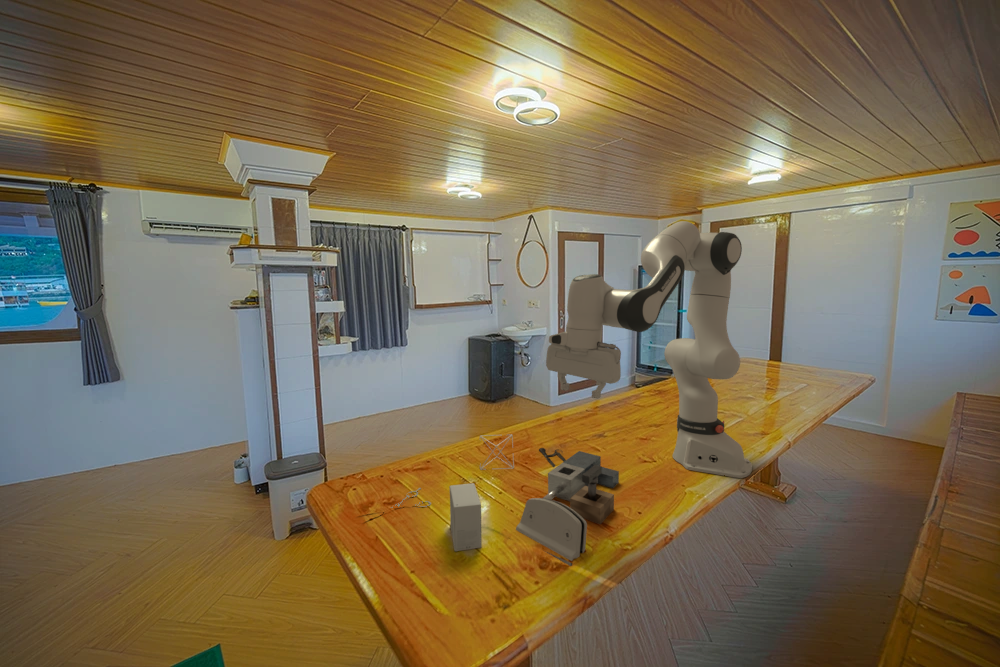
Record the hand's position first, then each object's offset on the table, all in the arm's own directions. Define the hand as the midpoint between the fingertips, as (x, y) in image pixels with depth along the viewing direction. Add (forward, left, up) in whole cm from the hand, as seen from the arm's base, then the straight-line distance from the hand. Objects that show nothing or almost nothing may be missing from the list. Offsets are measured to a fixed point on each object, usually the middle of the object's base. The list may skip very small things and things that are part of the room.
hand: (579, 393), depth 104 cm
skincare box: (+16, +27, -31) cm, 44 cm away
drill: (+3, -4, -30) cm, 31 cm away
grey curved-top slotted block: (-2, +17, -31) cm, 35 cm away
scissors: (+40, +29, -31) cm, 58 cm away
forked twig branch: (+17, -21, -31) cm, 41 cm away
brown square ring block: (-4, +2, -30) cm, 31 cm away
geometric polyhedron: (+34, -7, -31) cm, 46 cm away
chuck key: (-4, +2, -29) cm, 30 cm away
